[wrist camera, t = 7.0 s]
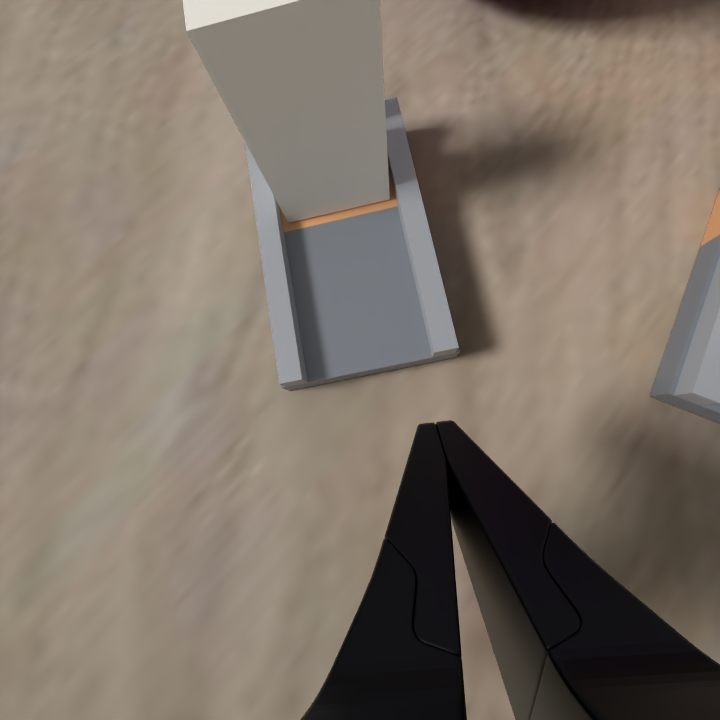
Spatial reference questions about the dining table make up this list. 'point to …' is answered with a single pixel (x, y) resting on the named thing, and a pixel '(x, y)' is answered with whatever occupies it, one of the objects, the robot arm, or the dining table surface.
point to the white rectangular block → (302, 95)
